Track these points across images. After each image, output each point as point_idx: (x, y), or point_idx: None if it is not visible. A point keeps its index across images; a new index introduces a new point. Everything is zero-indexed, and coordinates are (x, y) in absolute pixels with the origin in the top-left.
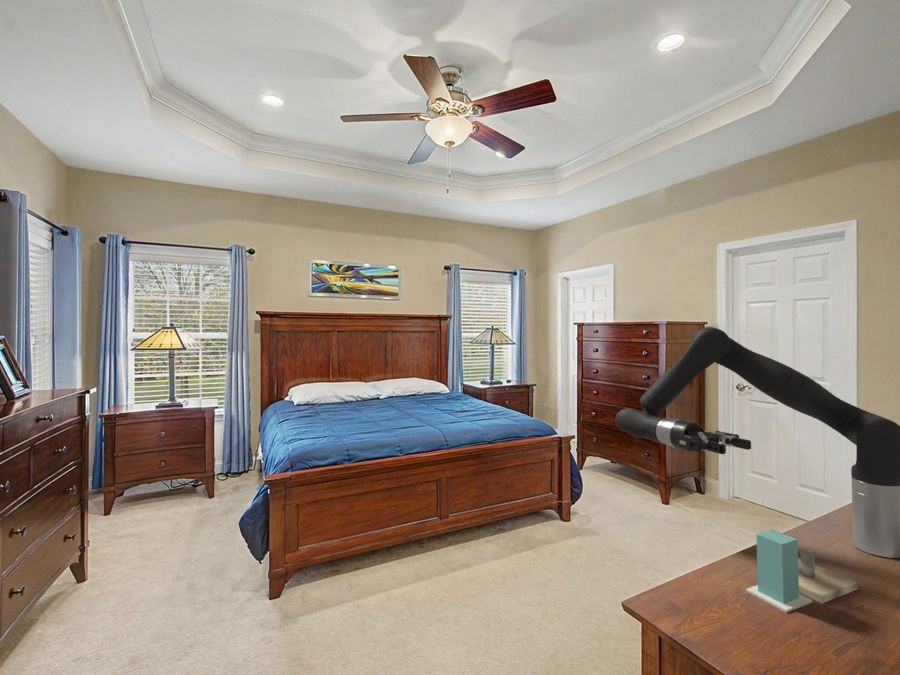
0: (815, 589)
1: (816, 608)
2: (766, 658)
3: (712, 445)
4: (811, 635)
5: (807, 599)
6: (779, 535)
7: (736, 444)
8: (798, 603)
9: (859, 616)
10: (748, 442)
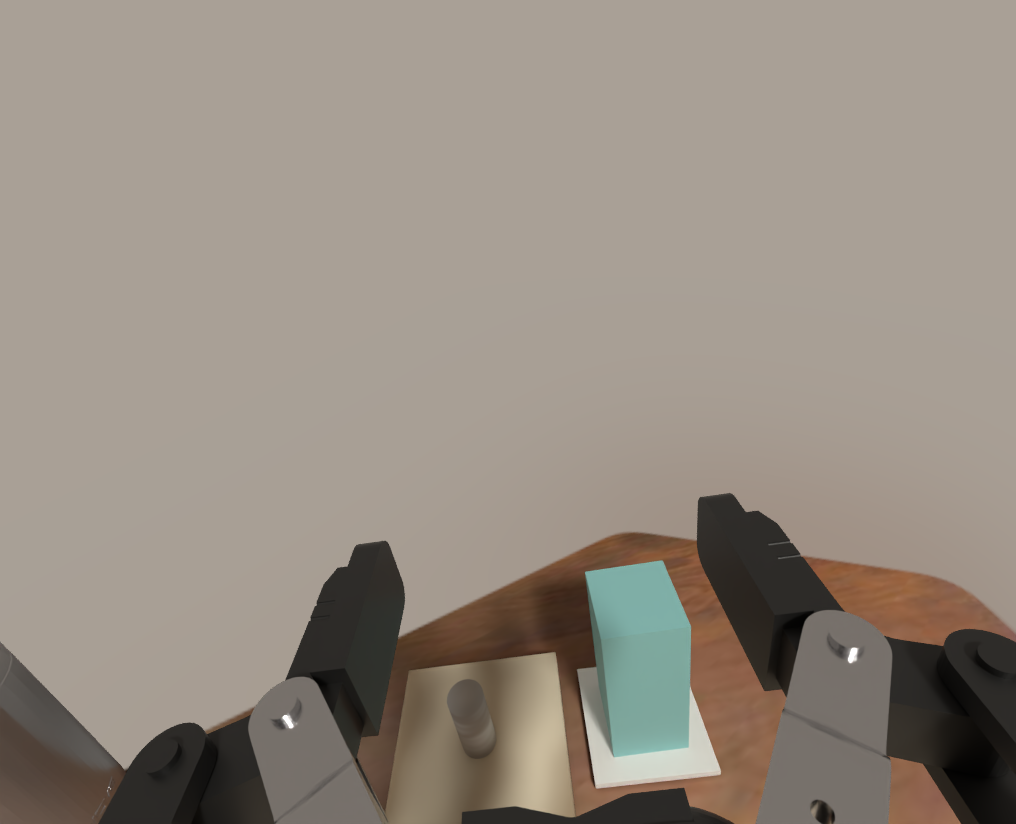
0: (540, 677)
1: (586, 659)
2: (831, 576)
3: (805, 565)
4: (684, 600)
5: (585, 674)
6: (615, 601)
7: (373, 690)
8: None
9: (528, 617)
10: (387, 549)
